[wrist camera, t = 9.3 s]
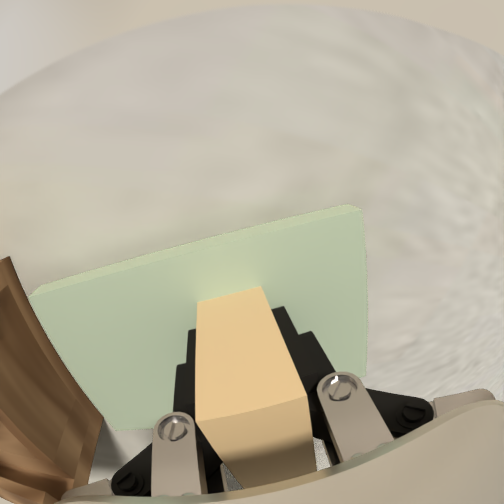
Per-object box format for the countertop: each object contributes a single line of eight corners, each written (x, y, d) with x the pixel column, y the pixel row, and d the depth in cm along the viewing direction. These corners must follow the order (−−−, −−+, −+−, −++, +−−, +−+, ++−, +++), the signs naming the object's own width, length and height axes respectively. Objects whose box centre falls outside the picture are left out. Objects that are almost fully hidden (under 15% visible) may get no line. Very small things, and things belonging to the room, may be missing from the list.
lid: (347, 203, 11) (471, 258, 5) (356, 362, 14) (415, 450, 8) (40, 285, 10) (-41, 375, 4) (119, 415, 13) (102, 509, 7)
